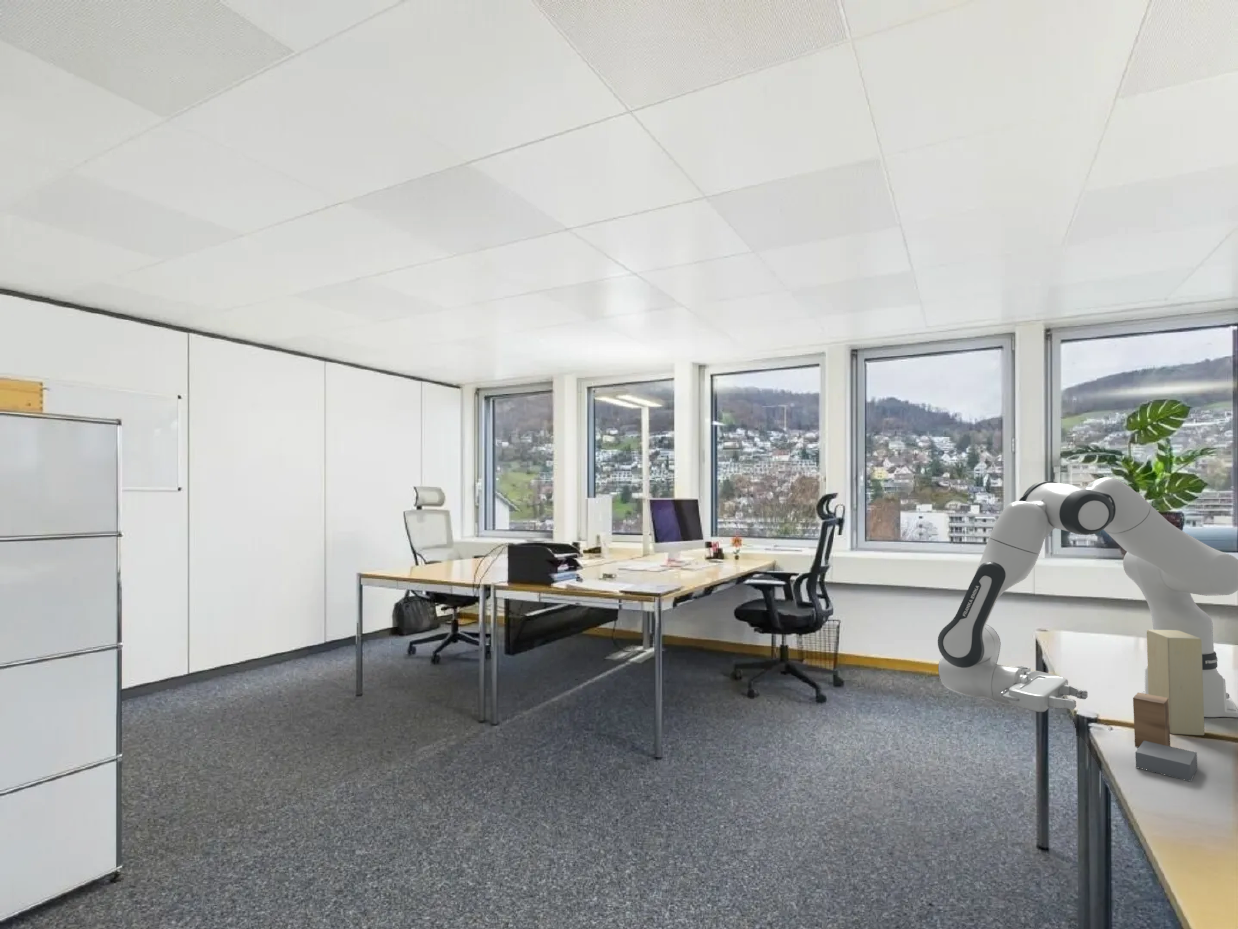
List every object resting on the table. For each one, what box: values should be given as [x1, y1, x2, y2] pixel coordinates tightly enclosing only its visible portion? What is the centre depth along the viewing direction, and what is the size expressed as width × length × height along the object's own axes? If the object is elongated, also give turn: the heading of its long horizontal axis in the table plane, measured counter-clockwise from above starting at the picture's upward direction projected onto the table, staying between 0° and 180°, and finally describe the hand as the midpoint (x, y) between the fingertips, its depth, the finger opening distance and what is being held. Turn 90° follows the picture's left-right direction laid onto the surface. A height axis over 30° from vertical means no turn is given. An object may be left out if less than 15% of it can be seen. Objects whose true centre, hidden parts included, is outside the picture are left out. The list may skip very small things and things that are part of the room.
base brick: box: [1134, 741, 1198, 782], centre depth 125 cm, size 8×8×3 cm
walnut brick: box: [1132, 692, 1171, 747], centre depth 135 cm, size 5×5×10 cm
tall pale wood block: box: [1146, 629, 1205, 736], centre depth 145 cm, size 8×7×21 cm
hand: (1081, 700), depth 144 cm, fingers open, 8 cm apart
